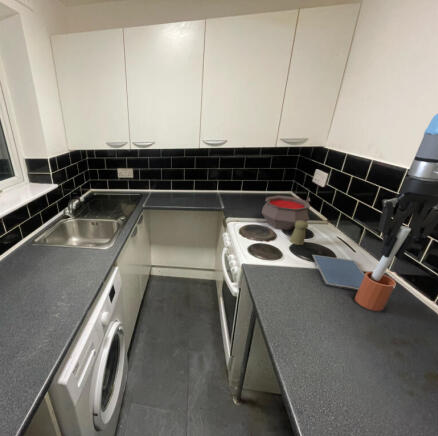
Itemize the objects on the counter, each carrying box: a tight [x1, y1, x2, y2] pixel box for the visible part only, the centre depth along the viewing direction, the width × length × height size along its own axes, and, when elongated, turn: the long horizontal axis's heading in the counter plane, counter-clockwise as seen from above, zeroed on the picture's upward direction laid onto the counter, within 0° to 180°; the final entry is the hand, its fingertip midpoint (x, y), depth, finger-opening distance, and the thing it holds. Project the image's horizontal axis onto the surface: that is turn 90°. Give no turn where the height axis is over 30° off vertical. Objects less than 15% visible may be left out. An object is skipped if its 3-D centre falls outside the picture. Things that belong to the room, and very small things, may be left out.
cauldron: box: [261, 194, 311, 231], centre depth 126 cm, size 24×24×16 cm
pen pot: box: [354, 271, 397, 312], centre depth 73 cm, size 7×7×10 cm
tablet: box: [311, 254, 365, 292], centre depth 89 cm, size 15×20×1 cm
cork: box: [289, 220, 309, 246], centre depth 110 cm, size 6×6×11 cm
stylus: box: [371, 225, 411, 281], centre depth 69 cm, size 2×2×20 cm
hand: (390, 255), depth 68 cm, fingers closed on stylus, 2 cm apart
